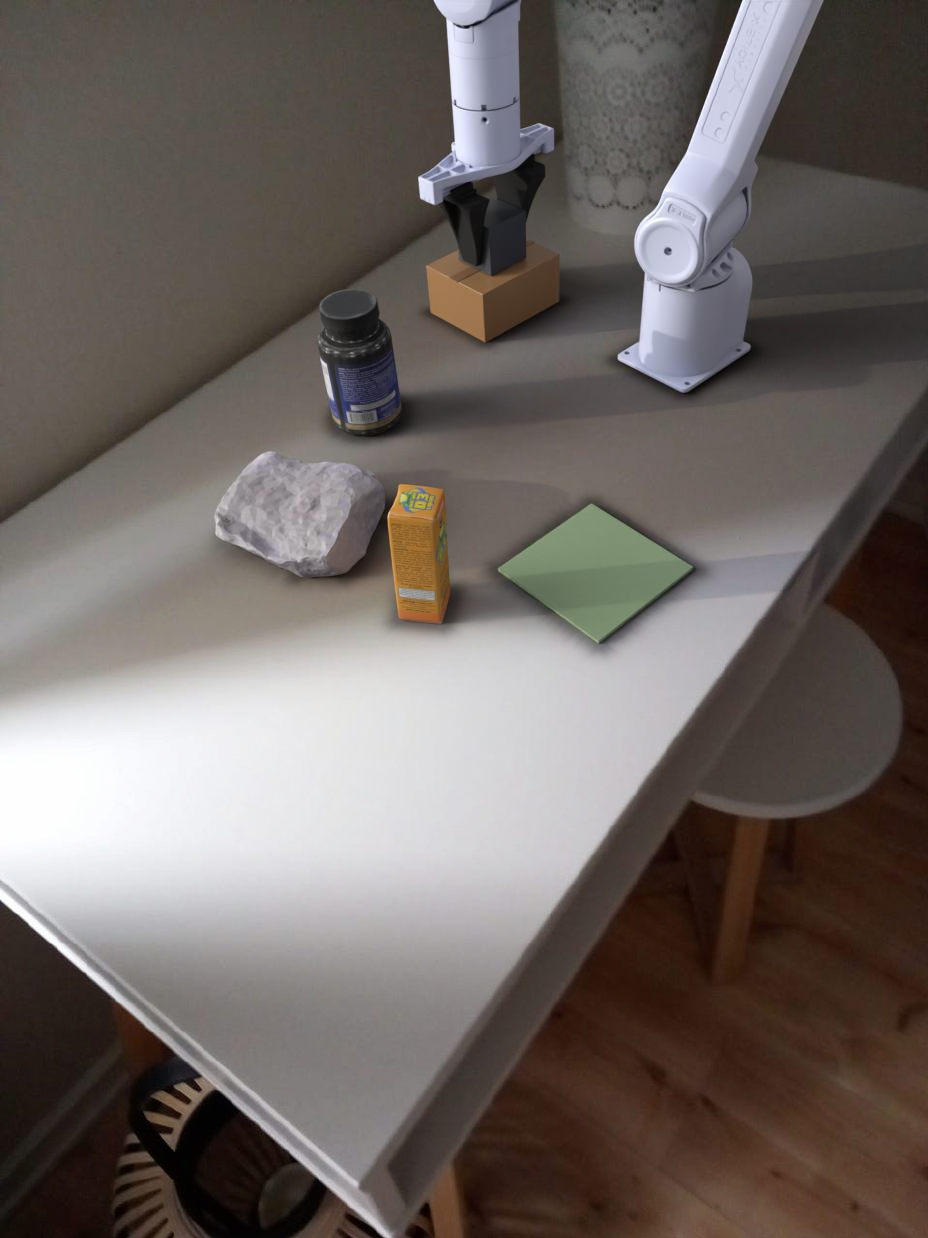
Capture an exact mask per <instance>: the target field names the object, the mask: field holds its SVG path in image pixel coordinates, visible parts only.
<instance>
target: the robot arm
mask: <svg viewBox="0 0 928 1238" xmlns="http://www.w3.org/2000/svg"><path fill="white" fill-rule="evenodd" d="M824 1H825V0H742V1H741V3H740V7H739V8H738V12H737V14H736V17H735V20H734V23H733V25H732V27H731V30H730V34H729V36H728V39H727V41H726V45H725V47H724V50H723V52H722V55H721V58H720V61H719V63H718V65H717V69H716V71H715V73H714V77H713V79H712V82H711V84H710V87H709V90H708V93H707V95H706V99H705V101H704V104H703V107H702V109H701V112H700V114H699V118H698V121H697V123H696V125H695V128H694V131H693V134H692V137H691V139H690V142H689V145H688V148H687V150H686V152H685V153H684V155H683V157H682V159H681V161H680V162H679V164H678V165H677V167H676V168H675V171H674V172H673V174H672V175H671V177H670V178H669V180H668V182H667V183H666V185H665V187H664V189H663V191H662V194H661V197H660V199H659V201H658V204H657V205H656V207H655V208H654V209H653V210H652V211H651V212H650V213H648V214H647V215H646V216H645V217H644V218H643V219H642V220H641V222H640V223H639V224H638V227H637V228H636V232H635V234H634V240H633V241H634V242H633V243H634V244H633V248H634V254H635V257H636V260H637V262H638V264H639V266H640V268H641V269H642V271H643V272H644V278H643V279H644V281H643V293H642V304H641V305H642V306H641V318H640V329H639V340H638V341H637V342H636V343H634V344H632V345H631V346H629V347H628V348H626V349H625V350H623V351H621V352H619V353H618V354H617V360H618V361H619V362H621V363H623V364H624V365H626V366H629V367H631V368H633V369H635V370H637V371H639V372H640V373H643V374H644V375H646V376H648V377H650V378H652V379H654V380H656V381H658V382H660V383H662V384H664V385H666V386H668V387H670V388H672V389H674V390H676V391H677V392H680V393H682V394H683V393H688V392H690V391H691V390H693V389H695V388H696V387H697V386H699V385H701V384H702V383H703V382H705V381H706V380H708V379H710V378H711V377H713V376H714V375H715V374H717V373H718V372H720V371H721V370H723V369H724V368H727V366H729V365H730V364H732V363H733V362H735V361H736V360H738V359H740V358H741V357H742V356H744V355H746V354H747V353H748V352H750V351H751V347H752V346H751V344H750V343H748V342H746V341H744V337H745V331H746V326H747V321H748V315H749V314H748V313H749V309H750V303H751V296H752V290H753V275H752V270H751V267H750V265H749V262H748V260H747V259H746V257H745V256H744V255H743V253H741V252H740V251H739V250H737V249H736V248H735V247H733V243H734V238H736V237H737V236H738V235H740V233H742V231H743V230H744V229H745V228H746V226H747V224H748V222H749V220H750V217H751V214H752V206H753V205H752V188H753V183H754V181H755V178H756V176H757V174H758V172H759V166H758V165H757V163H756V162H755V161H756V158H757V155H758V153H759V151H760V148H761V146H762V143H763V141H764V139H765V137H766V135H767V132H768V130H769V128H770V126H771V123H772V121H773V118H774V116H775V113H776V112H777V109H778V107H779V105H780V102H781V99H782V97H783V95H784V93H785V91H786V88H787V86H788V84H789V81H790V79H791V77H792V75H793V72H794V69H795V68H796V65H797V63H798V60H799V58H800V56H801V53H802V51H803V49H804V47H805V44H806V42H807V41H808V37H809V35H810V33H811V30H812V29H813V26H814V24H815V22H816V19H817V16H818V15H819V12H820V10H821V7H822V5H823V3H824ZM433 2H434V5H435V6H436V8H437V9H438V11H439V12H440V13H441V15H442V16H444V18H445V21H446V34H447V36H446V37H447V49H448V64H449V65H448V66H449V78H450V91H451V92H450V93H451V94H450V95H451V105H452V107H451V108H452V119H453V135H454V141H453V142H451V152H450V153H449V154H448V155H446V157H444V158H443V159H442V160H441V161H440V162H439V163H438V164H436V165H434V167H433V168H431V169H430V170H428V171H427V172H425V173H423V174H421V175H419V176H418V177H417V178H418V190H419V198H420V200H422V201H424V202H426V203H428V204H431V205H433V206H436V205H438V207H439V208H440V210H441V211H442V213H443V215H444V216H445V217H446V220H447V221H448V223H449V225H450V228H451V231H452V232H453V235H454V237H455V241H456V243H457V247H458V246H459V249H460V253H461V256H462V259H463V261H465V262H467V263H469V264H472V265H474V266H479V265H481V264H482V258H483V228H484V221H485V215H486V211H487V207H488V204H489V201H490V200H489V199H488V198H489V197H486V196H483V195H481V194H479V193H478V190H477V188H476V187H475V188H474V184H475V183H476V182H479V181H481V180H483V179H485V178H490V177H492V181H493V185H494V189H495V194H496V198H497V199H499V200H501V201H504V202H506V203H508V204H511V205H513V206H515V207H518V208H520V209H522V210H525V211H526V223H527V221H528V217H529V214H530V210H531V207H532V205H533V202H534V199H535V197H536V194H537V192H538V190H539V189H540V187H541V185H542V183H543V182H544V180H545V178H546V165H545V164H544V163H542V162H539V161H537V160H536V155H537V154H539V153H543V154H548V153H550V152H553V151H554V150H555V128H554V127H551V126H548V125H546V124H543V123H539V122H538V123H536V124H533V125H530V126H527V127H524V128H521V105H520V104H521V96H520V95H521V94H520V93H521V92H520V55H519V54H520V53H519V52H520V51H519V50H520V49H519V45H520V44H519V22H520V21H521V4H522V3H521V2H522V0H433Z"/></svg>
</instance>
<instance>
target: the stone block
mask: <svg viewBox="0 0 928 1238" xmlns="http://www.w3.org/2000/svg"><path fill="white" fill-rule="evenodd" d="M385 490H386V489H385V487H384V486H383V484H382V483H381V481H380V479H379V478H377V476H376V475H375V474H374V472H372V471H371V470H370V469H367V468H364V467H361V466H359V465H357V464H352V463H348V462H338V461H322V462H315V463H313V462H303V461H301V460H298V459H291V458H289V457H287V456H285V455H283V454H281V453H279V452H277V451H270V450H268V451H266V452H263V453H260V455H258V456H256V457H255V459H253V461H251V462H249V463H247V465H246V467H245V468H244V469H243V470H242V472H241V473H240V474H239V475H238V476H237V477H236V479H235V480H234V482H233V483H232V484H231V485H230V486H229V488H228V489H227V490H226V491H225V492H224V494H223V496H222V498H221V499H220V502H219V503H218V505H217V506H216V509H215V511H214V514H213V517H214V522H215V532H214V534H215V536H216V537H217V538H218V539H220V540H222V541H223V542H226V543H229V544H231V545H233V546H238V547H240V548H242V549H244V550H245V551H247V552H248V553H252V554H253V555H255V556H258V557H260V558H263V559H264V560H265V561H266V562H268V563H270V564H273V565H276V566H277V567H279V568H281V569H283V570H286V571H290V572H291V573H293V574H295V576H298V577H301V578H306V579H314V578H319V577H335V576H339V575H343V574H346V573H348V572H349V571H350V570H351V569H352V568H353V567H354V566H355V565H356V564H357V563H358V562H359V561H360V560H361V559H362V558H364V557H365V556H366V553H367V549H368V546H369V544H370V542H371V538H372V536H373V533H374V532H375V531H376V530H377V528H378V527H377V526H378V524H379V522H380V520H381V517H382V515H383V513H384V511H385V508H386V491H385Z"/></svg>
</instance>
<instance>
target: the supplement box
mask: <svg viewBox="0 0 928 1238" xmlns="http://www.w3.org/2000/svg"><path fill="white" fill-rule="evenodd" d="M446 505H447V504H446V491H445V489H443V488H438V487H433V486H424V485H417V484H406V483H400V484H399V485H398V488H397V494H396V496H395V499H394V501H393V504H392V507H390V509H389V511H388V513H387V528H388V537H389V546H390V547H389V548H390V557H391V566H392V574H393V581H394V582H393V583H394V591H395V599H396V607H397V614H398V618H399V619H401V620H403V621H412V622H419V623H428V624H429V623H431V624H442V623H443V620H444V617H445V614H446V610H447V607H448V603H449V600H450V597H451V582H450V563H449V562H450V561H449V543H448V524H447V508H446V507H447V506H446Z"/></svg>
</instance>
